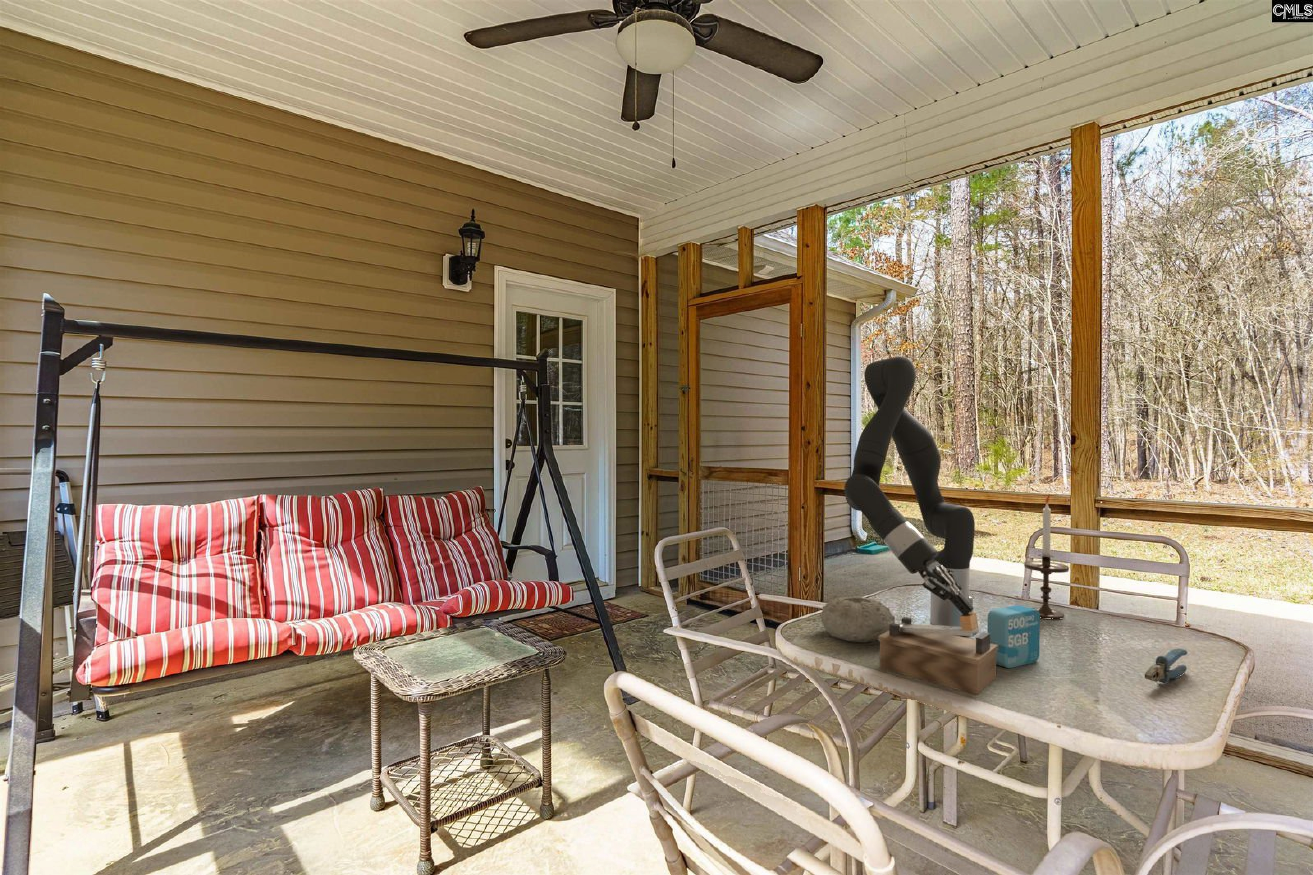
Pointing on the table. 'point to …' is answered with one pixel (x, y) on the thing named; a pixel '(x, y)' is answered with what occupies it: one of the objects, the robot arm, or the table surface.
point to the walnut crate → (939, 657)
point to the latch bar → (946, 627)
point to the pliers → (1166, 667)
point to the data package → (1015, 635)
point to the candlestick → (1047, 567)
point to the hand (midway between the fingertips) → (969, 612)
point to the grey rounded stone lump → (856, 618)
